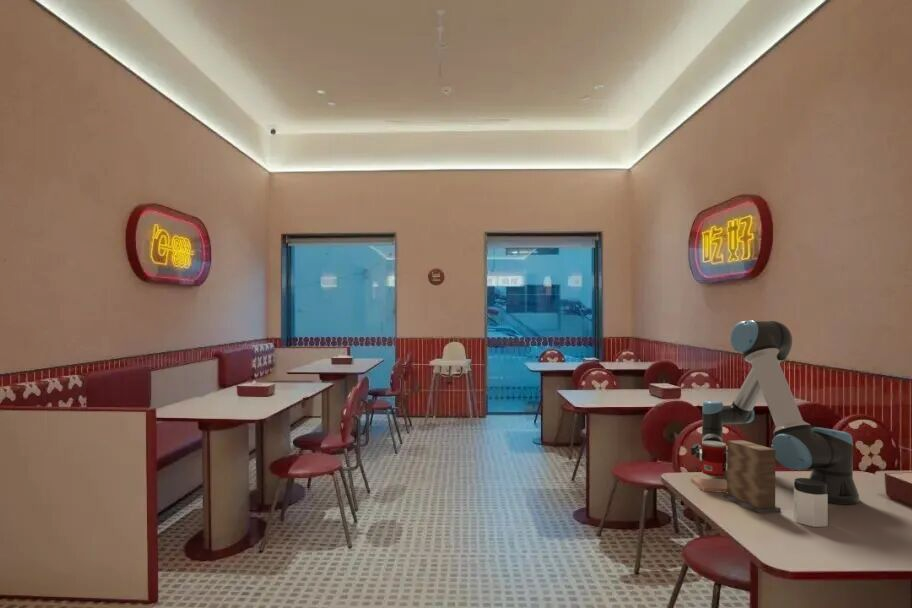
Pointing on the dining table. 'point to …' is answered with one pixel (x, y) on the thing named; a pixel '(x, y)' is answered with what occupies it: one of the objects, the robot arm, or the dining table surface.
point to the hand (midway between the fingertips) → (714, 458)
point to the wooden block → (751, 476)
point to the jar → (810, 502)
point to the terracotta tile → (710, 484)
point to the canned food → (714, 458)
